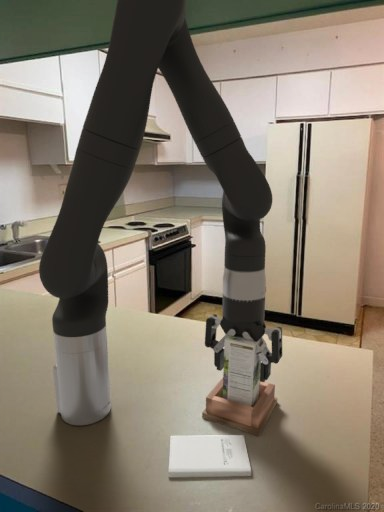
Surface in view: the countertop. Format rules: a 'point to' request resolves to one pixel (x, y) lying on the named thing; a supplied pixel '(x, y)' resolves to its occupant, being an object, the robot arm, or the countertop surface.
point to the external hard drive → (208, 456)
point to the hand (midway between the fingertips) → (241, 374)
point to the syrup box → (241, 371)
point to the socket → (241, 409)
